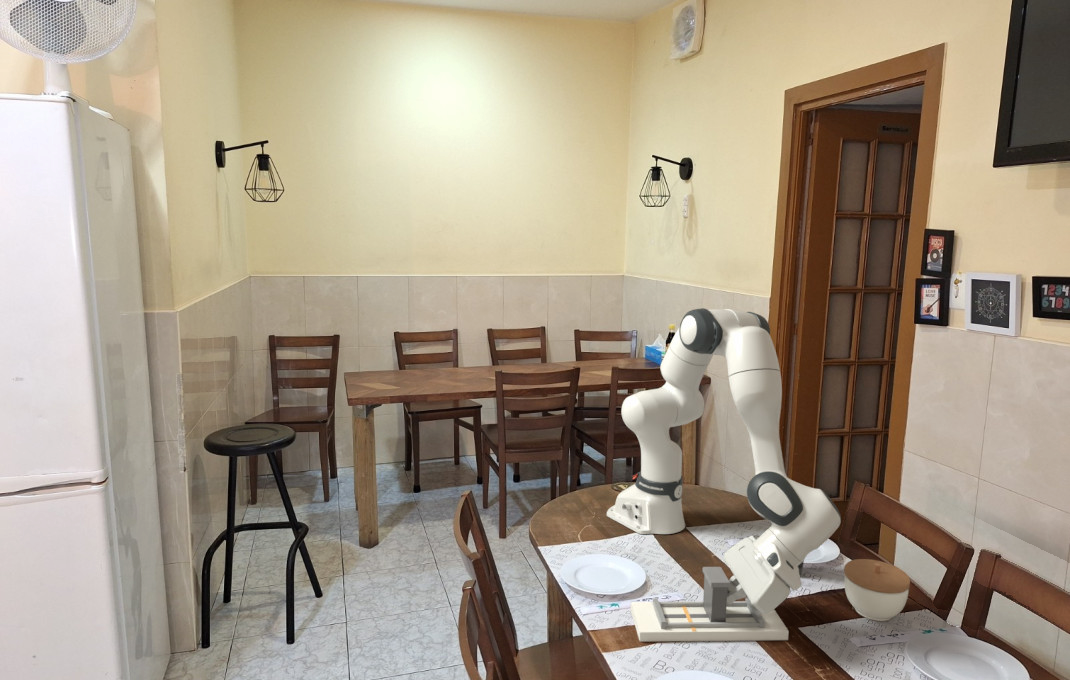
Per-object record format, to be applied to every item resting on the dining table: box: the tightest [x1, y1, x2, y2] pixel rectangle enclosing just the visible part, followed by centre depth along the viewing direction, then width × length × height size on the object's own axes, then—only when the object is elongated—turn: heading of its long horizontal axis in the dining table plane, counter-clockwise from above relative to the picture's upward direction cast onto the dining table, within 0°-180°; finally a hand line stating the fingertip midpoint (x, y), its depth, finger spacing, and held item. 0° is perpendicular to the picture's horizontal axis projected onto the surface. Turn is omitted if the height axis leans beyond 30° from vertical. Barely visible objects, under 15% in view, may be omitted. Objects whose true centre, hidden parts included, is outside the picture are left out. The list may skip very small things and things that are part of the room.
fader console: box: [630, 597, 789, 643], centre depth 139 cm, size 30×11×4 cm, turn 91°
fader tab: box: [702, 566, 730, 622], centre depth 138 cm, size 4×6×9 cm, turn 1°
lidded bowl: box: [843, 558, 911, 622], centre depth 143 cm, size 13×13×11 cm
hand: (724, 598), depth 138 cm, fingers closed, pressing on fader tab
